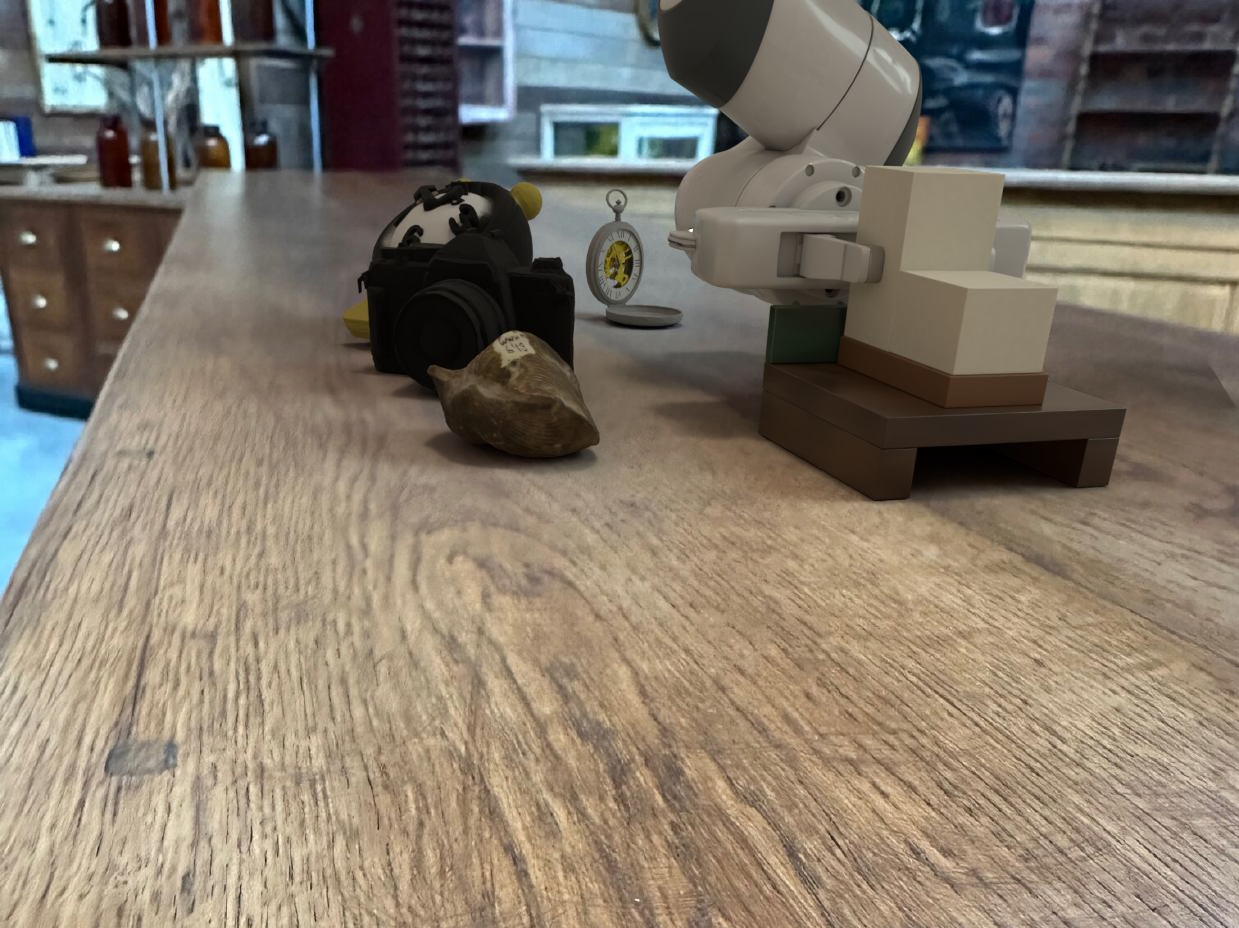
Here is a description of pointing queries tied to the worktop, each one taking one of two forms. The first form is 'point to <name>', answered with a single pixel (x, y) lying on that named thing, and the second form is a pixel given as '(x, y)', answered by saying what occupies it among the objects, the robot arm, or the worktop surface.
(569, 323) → the film camera
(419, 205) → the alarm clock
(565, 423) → the fossilized seashell
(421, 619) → the worktop surface
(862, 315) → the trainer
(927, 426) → the low wooden bench
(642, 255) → the pocket watch
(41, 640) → the worktop surface
